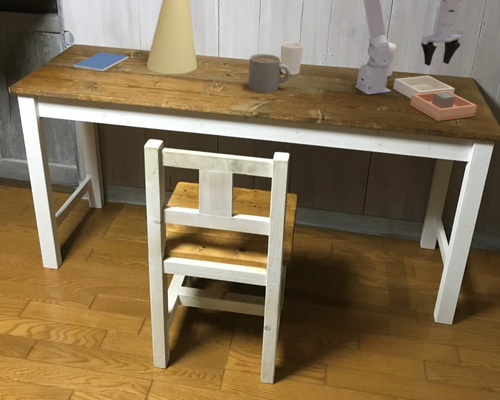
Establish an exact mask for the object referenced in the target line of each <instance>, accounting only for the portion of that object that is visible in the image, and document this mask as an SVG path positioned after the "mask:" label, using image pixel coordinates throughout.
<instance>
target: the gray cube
mask: <svg viewBox="0 0 500 400" xmlns="http://www.w3.org/2000/svg"><path fill="white" fill-rule="evenodd" d="M454 99H455V97H454V96H452V95H450V94H448V93H446V92H441V93H434V96H433V100H432V104H433V105H435V106H437V107H439V108H441V109H442V108H450V107H453V103H454Z"/></svg>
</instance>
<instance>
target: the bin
mask: <svg viewBox="0 0 500 400" xmlns="http://www.w3.org/2000/svg"><path fill="white" fill-rule="evenodd" d="M441 92H446V93H448V94H450V95H452V96H454V97H455V99H454V103H453V107H450V108H442V109H441V108H439V107H437V106H435V105H433V104H432V100H433V96H434V93H441ZM409 105H410V106H411V107H413V108H414V109H416V110H418V111H420V112H421V113H424V114H425V115H427V116H429V117H431V118H432V119H434V120H435V121H437V122H441V121H448V120H456V119H457V120H458V119H462V118H463V119H464V118H470V117H475V116H476V115H475V114H476V111H477V108H478V105H477V104H475V103H474V102H471V101H469V100H467V99H465V98H463V97H461V96H458V95H457V94H456V93H454V94H453V93H451V92H449V91H439V92H430V93H421V94H413V95H412V97H411V98H410V103H409Z"/></svg>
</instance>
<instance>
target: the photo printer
mask: <svg viewBox="0 0 500 400" xmlns="http://www.w3.org/2000/svg"><path fill="white" fill-rule="evenodd" d="M388 43H389V47H390V49H391V50H392V52H393V60H392V62H391V63H390V65H389V71H388V77H391V76H392V75H393V72H394V71H393V69H394V64H395V59H396V53H397V45H396V44H395V43H392V42H389V41H388Z"/></svg>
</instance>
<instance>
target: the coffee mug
mask: <svg viewBox="0 0 500 400" xmlns="http://www.w3.org/2000/svg"><path fill="white" fill-rule="evenodd" d="M281 69H285V71H286V74H285V76H284V77H281V75H280V74H281V73H280V72H281ZM248 72H249V73H248V89H249V90H250V91H252V92H255V93H262V94H264V93H267V94H268V93H273V92H277V91H278V90H279V85H280V84H282V83H285V82H288V80H289V78H290V76H291V75H290V69H289V67H288V66H287V65H284V64H281V57H278V56H277V55H274V54H269V53H268V54H265V53H257V54H253V55H251V56H250V57H249V67H248Z"/></svg>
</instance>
